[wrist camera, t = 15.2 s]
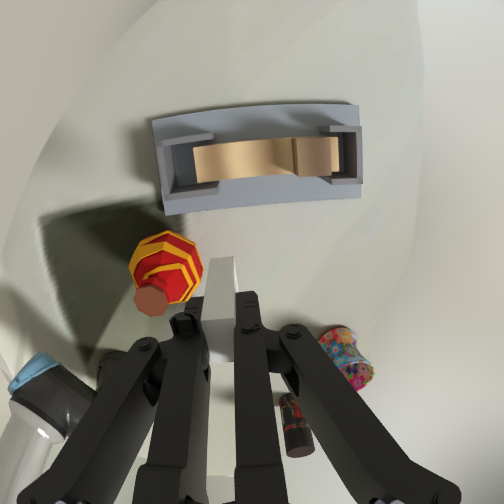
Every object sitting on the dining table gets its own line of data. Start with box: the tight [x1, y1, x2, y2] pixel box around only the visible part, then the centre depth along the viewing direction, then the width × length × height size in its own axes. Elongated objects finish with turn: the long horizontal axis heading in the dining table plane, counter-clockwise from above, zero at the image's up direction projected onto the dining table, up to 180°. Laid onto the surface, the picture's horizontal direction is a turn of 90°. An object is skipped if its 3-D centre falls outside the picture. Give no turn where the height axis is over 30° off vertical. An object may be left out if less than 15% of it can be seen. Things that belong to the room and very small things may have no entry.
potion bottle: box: [129, 230, 204, 317], centre depth 37 cm, size 10×10×15 cm
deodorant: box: [279, 393, 315, 458], centre depth 54 cm, size 6×6×15 cm
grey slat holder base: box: [152, 104, 363, 215], centre depth 35 cm, size 29×14×6 cm, turn 95°
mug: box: [318, 328, 375, 392], centre depth 49 cm, size 12×9×11 cm
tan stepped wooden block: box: [193, 136, 339, 183], centre depth 34 cm, size 18×4×7 cm, turn 95°
